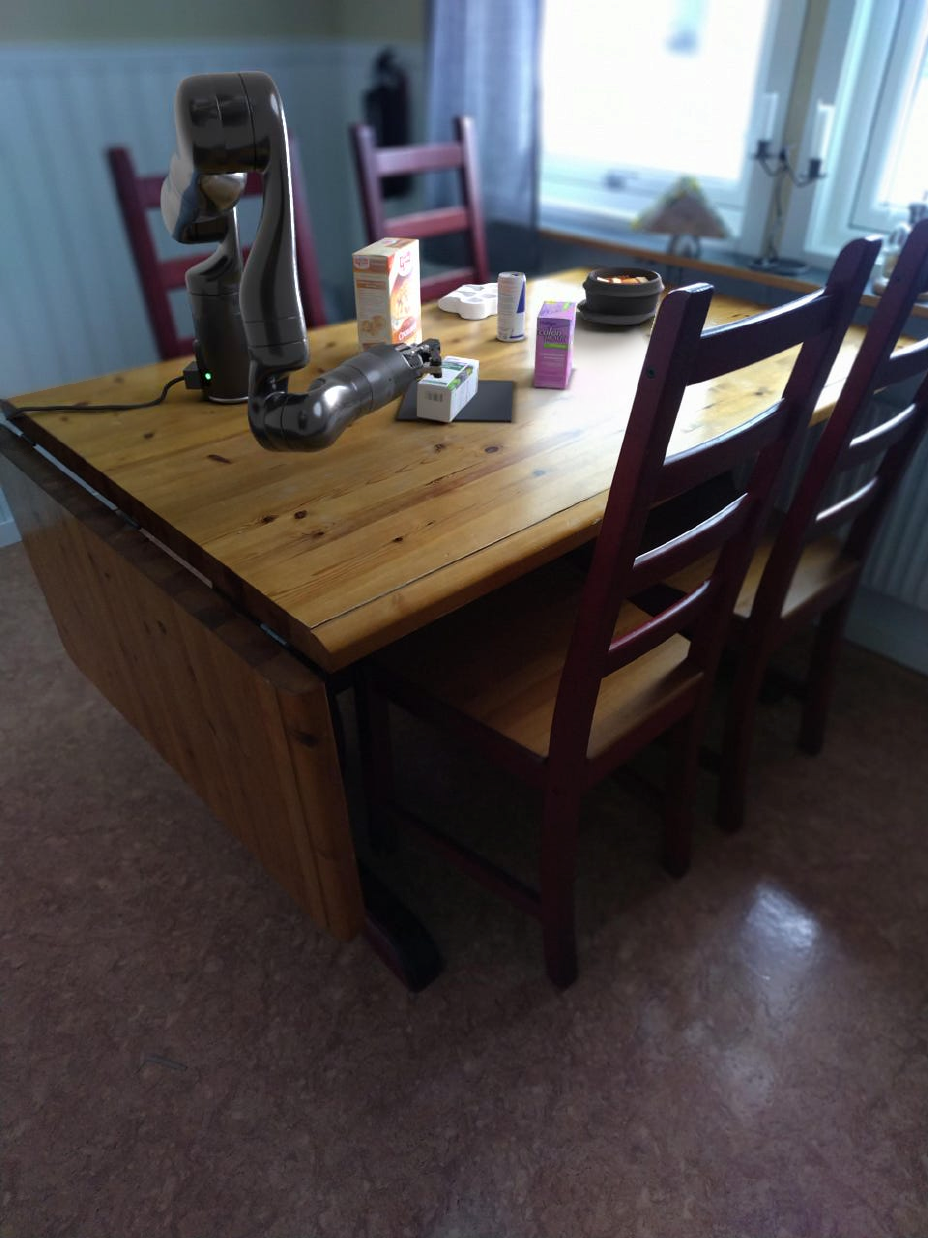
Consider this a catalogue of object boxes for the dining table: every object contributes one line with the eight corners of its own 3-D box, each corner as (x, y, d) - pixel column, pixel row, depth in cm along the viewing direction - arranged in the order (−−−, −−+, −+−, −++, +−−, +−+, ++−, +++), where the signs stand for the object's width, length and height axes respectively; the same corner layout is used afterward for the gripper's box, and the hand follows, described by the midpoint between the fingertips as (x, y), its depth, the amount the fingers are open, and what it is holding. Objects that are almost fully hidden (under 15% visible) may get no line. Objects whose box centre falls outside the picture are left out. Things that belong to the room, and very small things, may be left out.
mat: (397, 420, 134) (396, 418, 133) (410, 381, 148) (410, 379, 148) (511, 422, 133) (511, 419, 132) (513, 382, 147) (513, 380, 147)
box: (566, 389, 144) (571, 318, 137) (533, 387, 145) (535, 316, 138) (572, 369, 153) (577, 301, 146) (541, 367, 154) (543, 300, 147)
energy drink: (528, 336, 169) (530, 273, 162) (515, 343, 165) (517, 279, 158) (505, 332, 171) (506, 270, 164) (491, 339, 168) (492, 275, 161)
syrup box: (416, 382, 129) (447, 352, 140) (415, 418, 133) (445, 386, 144) (452, 388, 128) (480, 358, 139) (450, 425, 131) (478, 392, 143)
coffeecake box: (394, 371, 153) (388, 255, 142) (358, 367, 155) (349, 253, 144) (423, 346, 165) (420, 238, 153) (390, 343, 166) (383, 235, 155)
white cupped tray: (464, 294, 196) (524, 300, 191) (431, 315, 182) (494, 322, 177) (464, 279, 194) (524, 285, 189) (430, 298, 180) (494, 305, 175)
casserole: (655, 337, 168) (660, 293, 163) (563, 329, 173) (565, 286, 168) (673, 304, 187) (678, 264, 182) (590, 298, 192) (592, 258, 187)
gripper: (410, 360, 109) (474, 325, 121) (327, 345, 114) (396, 313, 127) (413, 416, 113) (474, 376, 126) (332, 399, 118) (399, 363, 131)
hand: (435, 345), depth 126 cm, fingers closed
